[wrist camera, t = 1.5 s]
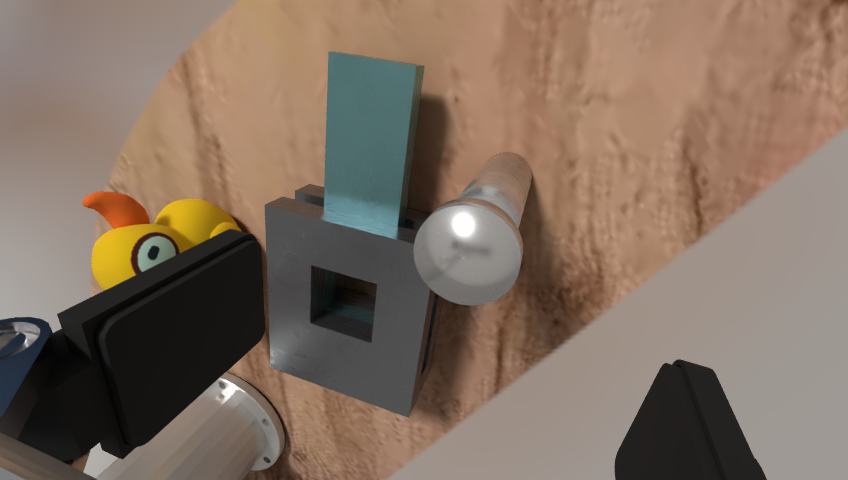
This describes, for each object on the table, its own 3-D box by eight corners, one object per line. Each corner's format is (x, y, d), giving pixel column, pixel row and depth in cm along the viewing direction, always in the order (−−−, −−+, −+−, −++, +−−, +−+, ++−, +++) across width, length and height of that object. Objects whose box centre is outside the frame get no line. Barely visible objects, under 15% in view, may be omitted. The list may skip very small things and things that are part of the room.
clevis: (429, 369, 32) (408, 417, 28) (307, 329, 35) (270, 367, 30) (484, 73, 23) (465, 75, 19) (311, 46, 25) (259, 42, 21)
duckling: (176, 171, 33) (33, 210, 24) (225, 156, 31) (89, 192, 22) (233, 295, 36) (127, 369, 27) (281, 289, 34) (183, 367, 25)
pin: (530, 212, 25) (506, 317, 15) (470, 199, 26) (407, 289, 15) (546, 152, 24) (532, 221, 13) (482, 139, 24) (420, 194, 14)
